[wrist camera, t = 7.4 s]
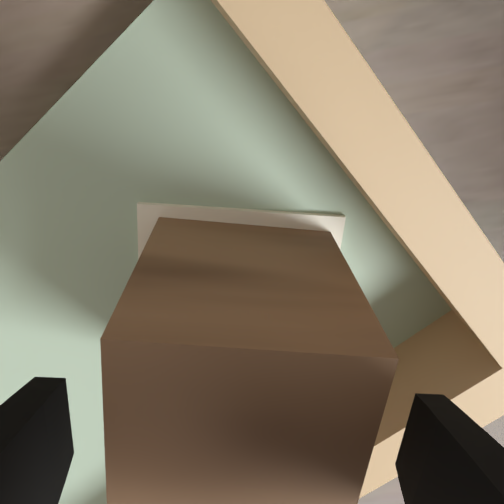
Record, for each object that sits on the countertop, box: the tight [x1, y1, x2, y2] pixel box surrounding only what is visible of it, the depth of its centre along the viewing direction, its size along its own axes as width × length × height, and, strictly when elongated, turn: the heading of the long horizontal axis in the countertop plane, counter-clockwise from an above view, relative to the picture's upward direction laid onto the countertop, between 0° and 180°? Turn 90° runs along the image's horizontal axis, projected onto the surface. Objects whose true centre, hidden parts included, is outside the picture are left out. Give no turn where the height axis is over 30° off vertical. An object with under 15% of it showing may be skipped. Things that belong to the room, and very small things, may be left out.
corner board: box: [0, 0, 504, 504], centre depth 14 cm, size 14×19×4 cm
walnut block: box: [100, 217, 399, 504], centre depth 11 cm, size 5×5×6 cm
